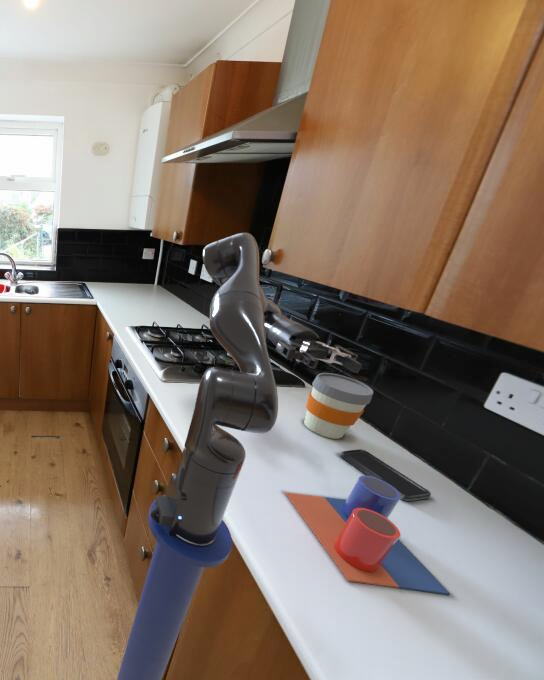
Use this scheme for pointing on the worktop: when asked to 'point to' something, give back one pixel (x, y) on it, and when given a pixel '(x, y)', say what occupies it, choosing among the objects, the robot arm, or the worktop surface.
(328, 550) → the sorting mat
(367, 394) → the reusable coffee cup
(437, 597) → the worktop surface
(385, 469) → the phone
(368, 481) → the blue beaker
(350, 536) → the red beaker
